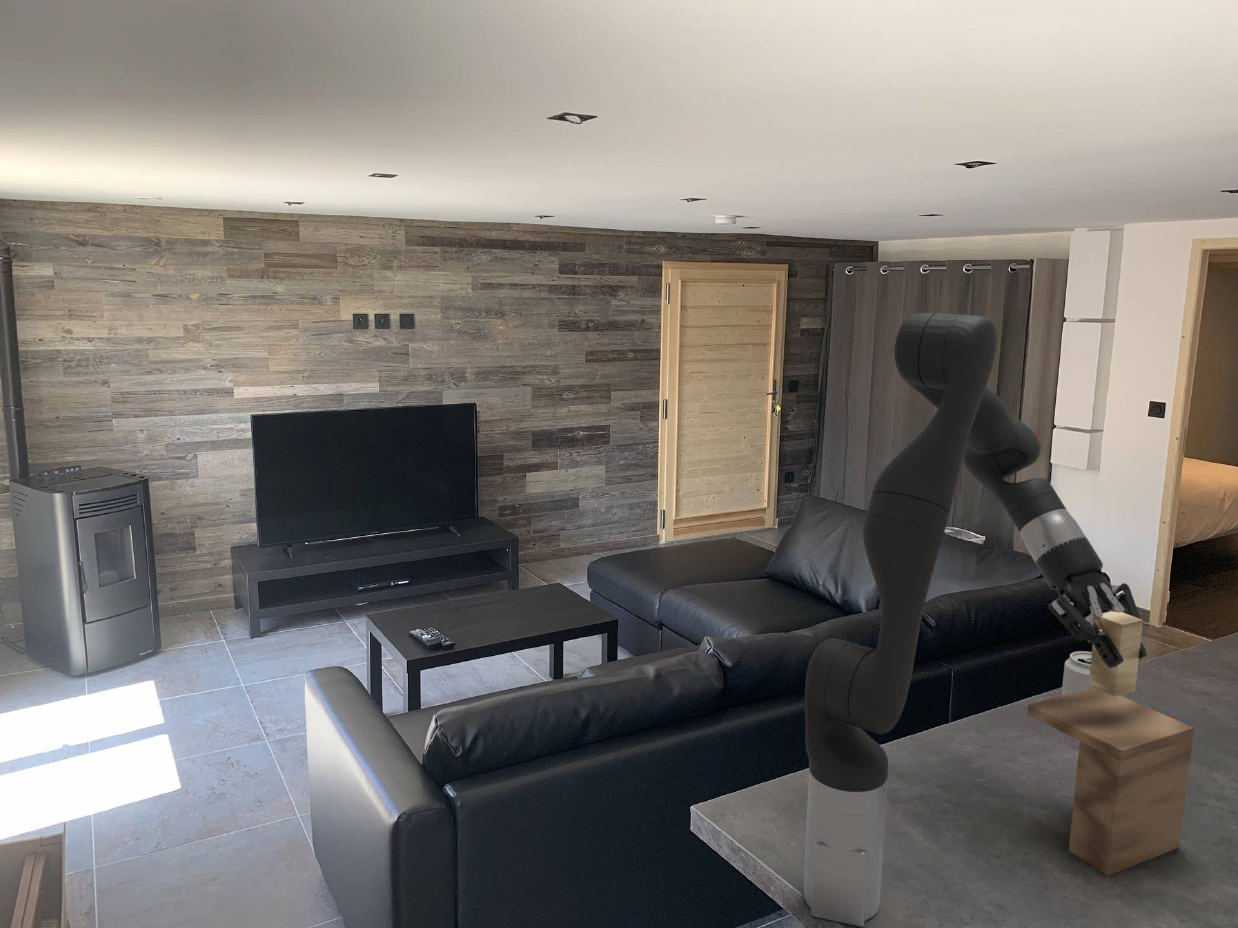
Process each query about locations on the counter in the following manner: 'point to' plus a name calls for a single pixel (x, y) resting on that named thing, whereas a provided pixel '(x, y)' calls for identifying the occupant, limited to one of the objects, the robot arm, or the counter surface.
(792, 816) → the counter surface
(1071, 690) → the can
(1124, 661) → the oak block
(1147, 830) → the walnut shelf
